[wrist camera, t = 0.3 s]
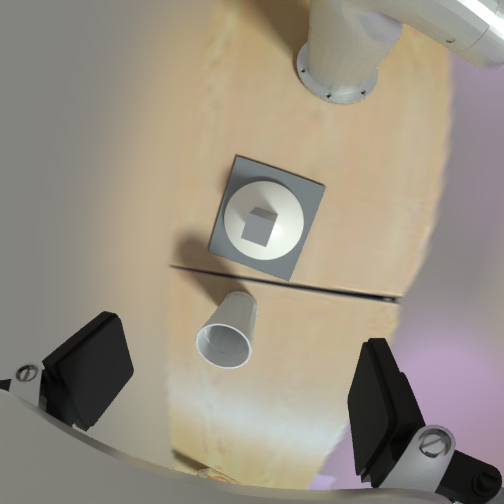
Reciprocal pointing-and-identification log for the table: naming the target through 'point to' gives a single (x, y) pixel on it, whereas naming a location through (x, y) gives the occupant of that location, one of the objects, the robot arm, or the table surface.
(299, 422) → the table surface
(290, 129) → the table surface
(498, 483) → the robot arm
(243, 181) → the mat
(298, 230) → the lid
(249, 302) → the cup
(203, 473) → the coffeecake box
